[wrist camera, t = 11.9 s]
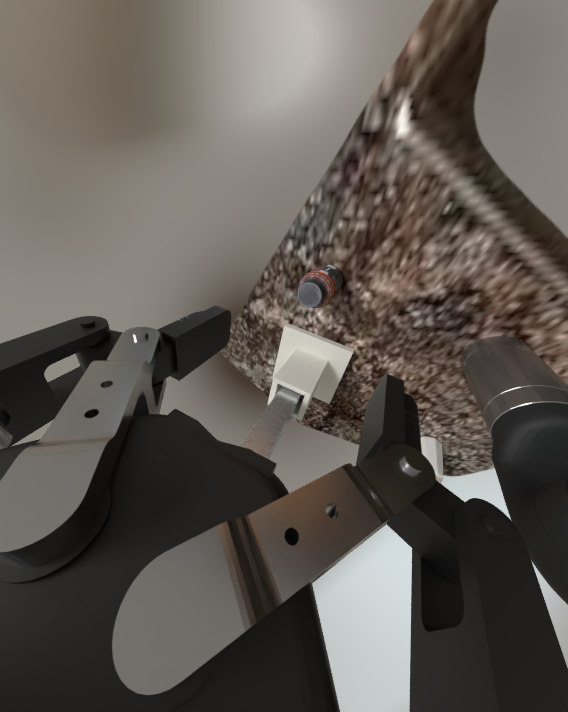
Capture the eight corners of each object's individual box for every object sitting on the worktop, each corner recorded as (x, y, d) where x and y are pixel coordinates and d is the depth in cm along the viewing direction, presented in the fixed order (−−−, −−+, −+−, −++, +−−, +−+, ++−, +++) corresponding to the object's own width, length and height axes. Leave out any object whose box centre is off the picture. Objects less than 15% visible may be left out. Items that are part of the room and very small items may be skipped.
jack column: (308, 380, 47) (256, 474, 30) (303, 395, 50) (252, 489, 32) (291, 372, 48) (230, 459, 31) (287, 387, 51) (228, 475, 33)
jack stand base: (354, 349, 49) (339, 391, 37) (330, 400, 58) (312, 447, 46) (287, 323, 53) (254, 353, 41) (274, 375, 62) (244, 412, 50)
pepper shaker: (419, 453, 55) (423, 497, 47) (411, 437, 54) (413, 478, 45) (445, 452, 52) (455, 499, 44) (438, 434, 51) (446, 479, 42)
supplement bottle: (329, 256, 42) (310, 266, 33) (349, 281, 43) (337, 297, 34) (306, 278, 46) (284, 293, 37) (326, 301, 47) (309, 320, 38)
